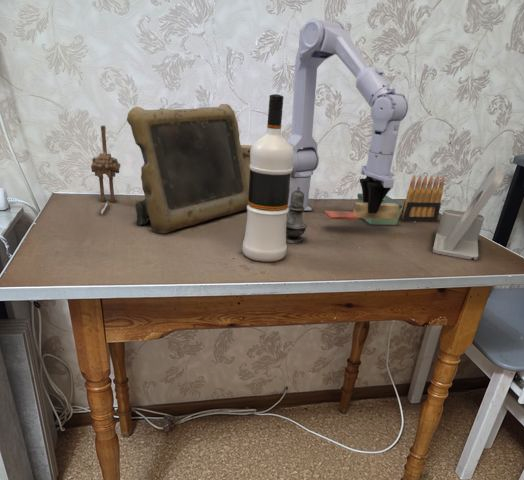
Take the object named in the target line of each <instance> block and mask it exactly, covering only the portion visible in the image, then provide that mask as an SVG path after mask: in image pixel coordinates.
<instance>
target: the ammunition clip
mask: <svg viewBox="0 0 524 480" xmlns="http://www.w3.org/2000/svg"><path fill="white" fill-rule="evenodd" d="M439 179H440V178H439V175H437V176H436V177H435V179H434V177H433V175H431V176H430V178H429V179H428V177H427V175H425V176H424V178H423V180H422V175H421V174H420V175H419V176H418V178H417V180H416V175H413V176H412V178H411V180H410V183H409V187H408V190H407V193H406V197H405V200H404V202H403V204H402V208H401V213H400V216H399V220H401V221H402V222H438V219H439V214H440V210H441V205H442V202H441V201H442V197H443V193H444V186H445V179H446V177H445V175H443V176H442V177H441V179H440V180H439Z"/></svg>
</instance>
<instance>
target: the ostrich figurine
mask: <svg viewBox="0 0 524 480" xmlns="http://www.w3.org/2000/svg"><path fill="white" fill-rule="evenodd" d="M106 129H107V128H106V125H104V124H103V125H101V126H100V132H101V134H100V135H101V144H102V145H101V146H102V153H99V154H98V156H97V157H93V158H92V163H91V165H90V170H91V173H94V176H95V177H97V178H98V182H99V193H100V194H99V195H100V202H105V201H106V197H105V185H104V175H106V176H107V178H108V182H109V185H108V186H109V195H110V202H111V203H115V201H116V197H115V189H114V178H115V177H116V174H120V169H121V162H119V161H118V159H117V158H115V157H112V154H111V153H108V149H107V137H106ZM108 205H109V203H108V202H106V203H105V204H104V206H103V208H102V209H101V212H100V214H103V213H104V212H105V210H106V208H107V207H108Z"/></svg>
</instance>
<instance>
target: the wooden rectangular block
mask: <svg viewBox="0 0 524 480" xmlns="http://www.w3.org/2000/svg"><path fill="white" fill-rule="evenodd" d="M398 211H399V205H397V204H396V203H381V205H380V207H379V209H378V212H377V213H368V203H364V202H357V201H354V202H353V209H352V211H350V210H349V211H346V210H340V211H339V210H324V211H323V214H324V215H325V216H326V217H327V218H328V219H329V220H355V221H356V220H359V219H363V218H389V219H397V215H398Z"/></svg>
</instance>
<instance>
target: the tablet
mask: <svg viewBox="0 0 524 480" xmlns="http://www.w3.org/2000/svg"><path fill="white" fill-rule="evenodd" d="M126 121H127V123H128V124H129V126H130V129H131V133H132V136H133V139H134V143H135V145H136V146H138V147H139V150H140V152H141V155H142V160H143V165H142V166H141V168H140V172H141V173H140V179H141V189H142V192H143V194H144V199H143V200H139V201H137V202H136V203H135V211H136V224H137V225H139V226H142V225H147V223H148V219H149V222H150V226H151V229H152V230H153V232H155V233H157V234H163V235H166V234H168V233H171V232H174V231H177V230H179V229H183V228H186V227H191V226H194V225H197V224H200V223H203V222H206V221H209V220H213V219H216V218H220V217H225V216H229V215H232V214H234V213H238V212H241V211H242V212H243V211H247V205H248V196H249V190H248V185H247V179H246V173H245V169H244V164H245V163H244V160H243V152H242V148H241V145H242V144H241V141H240V140H241V139H240V131H239V124H238V120H237V117H236V114H235V111H234V110H233V108H232V107H231V105H230V104H229V103H228V104H227V103H221V104H219V105H218V106H211V107H207V106H201V107H196V108H185V109H184V108H183V109H182V108H181V109H180V108H178V109H177V108H176V109H174V108H173V109H172V108H171V109H170V108H162V107H160V108H158V109H144V108H143V107H141V106H134V107H132V108H131V109H130V110H129V111H128V113H127V116H126Z"/></svg>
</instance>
